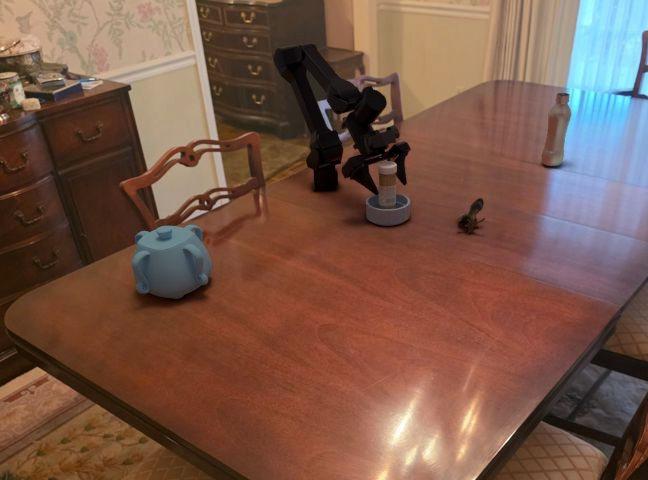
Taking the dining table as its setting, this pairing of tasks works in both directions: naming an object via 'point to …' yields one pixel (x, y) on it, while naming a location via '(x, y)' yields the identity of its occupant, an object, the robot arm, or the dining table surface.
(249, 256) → the dining table surface
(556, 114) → the plastic bottle
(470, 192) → the dining table surface
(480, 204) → the eagle figurine
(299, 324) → the dining table surface
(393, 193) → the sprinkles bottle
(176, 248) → the decorative pot
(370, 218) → the bowl
